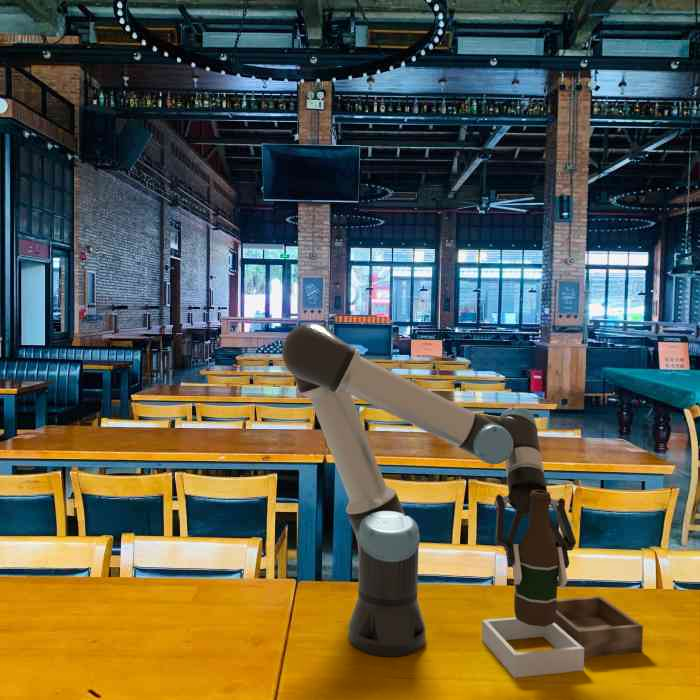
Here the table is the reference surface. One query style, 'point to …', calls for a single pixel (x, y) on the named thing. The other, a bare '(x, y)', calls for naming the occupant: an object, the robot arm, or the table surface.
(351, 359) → the robot arm
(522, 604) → the beer bottle
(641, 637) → the wooden bin
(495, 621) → the white corral
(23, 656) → the table surface
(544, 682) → the table surface
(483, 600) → the table surface
